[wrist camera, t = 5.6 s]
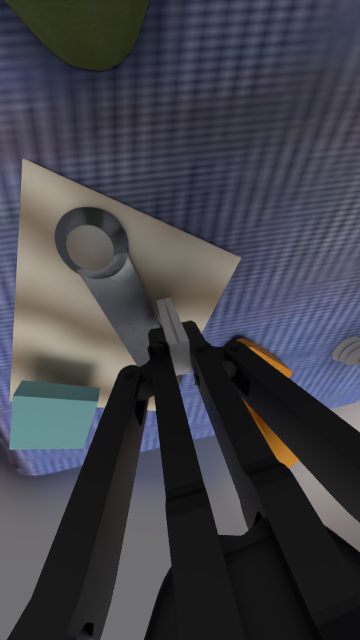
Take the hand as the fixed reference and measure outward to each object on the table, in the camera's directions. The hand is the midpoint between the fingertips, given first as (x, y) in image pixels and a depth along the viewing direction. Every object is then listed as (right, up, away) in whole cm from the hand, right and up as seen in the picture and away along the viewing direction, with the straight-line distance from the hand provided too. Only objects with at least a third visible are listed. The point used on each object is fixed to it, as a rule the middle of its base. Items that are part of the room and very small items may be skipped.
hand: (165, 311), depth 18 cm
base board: (-5, -1, +3) cm, 6 cm away
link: (-3, 0, 0) cm, 3 cm away
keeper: (-11, -8, +3) cm, 14 cm away
